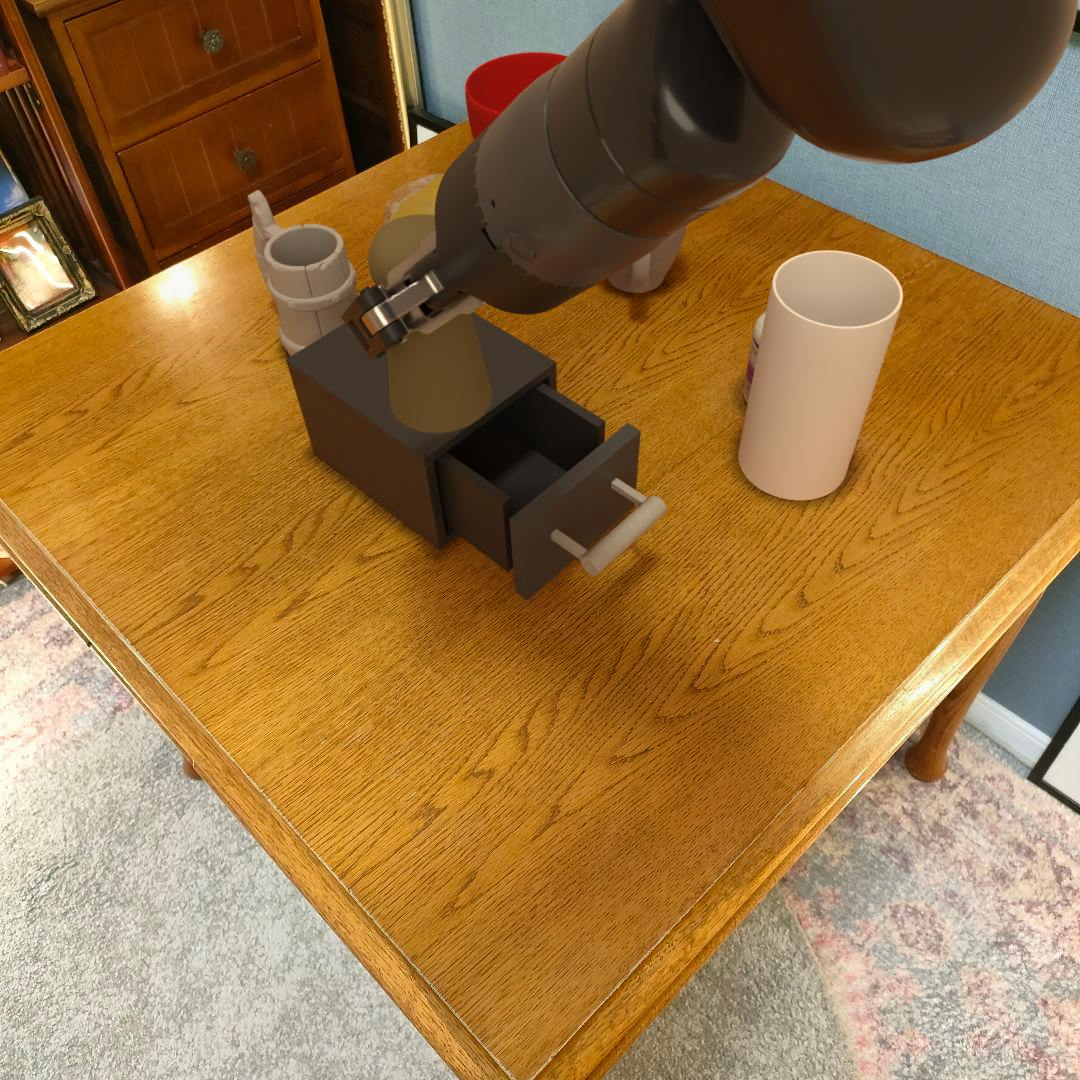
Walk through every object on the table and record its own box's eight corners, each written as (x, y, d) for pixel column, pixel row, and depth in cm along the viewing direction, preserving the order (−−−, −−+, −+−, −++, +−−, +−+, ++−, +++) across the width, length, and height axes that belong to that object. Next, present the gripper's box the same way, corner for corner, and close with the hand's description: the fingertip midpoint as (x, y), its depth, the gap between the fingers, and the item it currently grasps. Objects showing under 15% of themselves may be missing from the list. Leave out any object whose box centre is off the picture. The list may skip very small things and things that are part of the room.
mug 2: (588, 247, 91) (589, 152, 84) (680, 247, 91) (690, 152, 83) (587, 327, 84) (589, 231, 76) (688, 328, 84) (699, 231, 76)
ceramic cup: (652, 176, 99) (659, 79, 91) (512, 228, 94) (507, 130, 86) (584, 124, 106) (585, 30, 98) (450, 169, 101) (440, 74, 93)
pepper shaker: (372, 421, 54) (333, 256, 46) (413, 354, 58) (383, 189, 49) (471, 442, 53) (450, 276, 45) (506, 372, 57) (493, 206, 48)
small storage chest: (558, 456, 74) (556, 361, 67) (439, 551, 69) (423, 459, 61) (431, 373, 81) (416, 278, 73) (313, 453, 75) (285, 359, 68)
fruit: (512, 252, 91) (506, 154, 83) (480, 322, 85) (471, 223, 77) (411, 239, 93) (397, 142, 85) (372, 307, 86) (352, 208, 79)
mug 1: (319, 385, 80) (285, 263, 71) (240, 323, 85) (200, 203, 76) (389, 342, 83) (366, 220, 74) (310, 285, 89) (279, 165, 79)
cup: (823, 516, 70) (878, 344, 57) (720, 474, 73) (751, 302, 60) (862, 446, 74) (921, 273, 62) (763, 409, 77) (800, 236, 64)
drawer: (681, 537, 68) (692, 461, 62) (574, 637, 63) (574, 565, 57) (503, 420, 76) (497, 343, 69) (395, 501, 71) (379, 425, 64)
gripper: (633, 39, 40) (463, 196, 55) (370, 180, 34) (258, 314, 48) (720, 200, 42) (532, 310, 56) (486, 362, 35) (344, 438, 50)
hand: (406, 311), depth 52 cm, fingers closed on pepper shaker, 5 cm apart
